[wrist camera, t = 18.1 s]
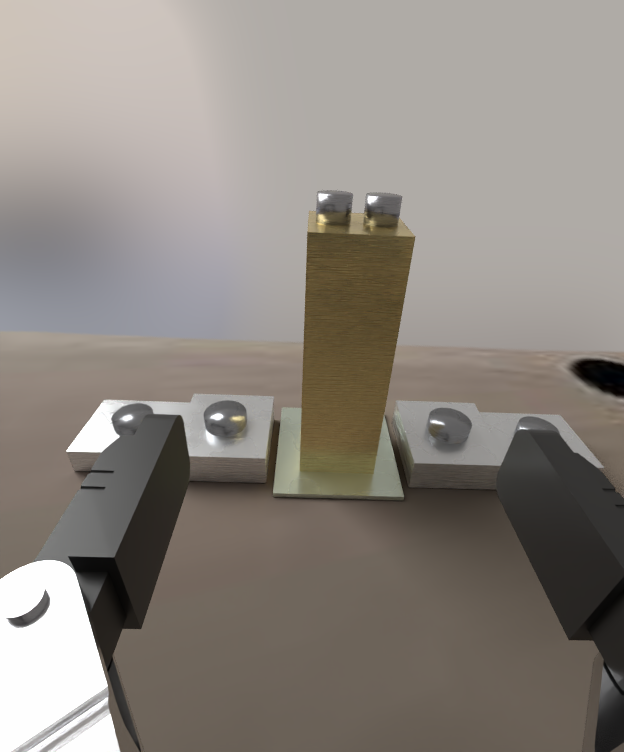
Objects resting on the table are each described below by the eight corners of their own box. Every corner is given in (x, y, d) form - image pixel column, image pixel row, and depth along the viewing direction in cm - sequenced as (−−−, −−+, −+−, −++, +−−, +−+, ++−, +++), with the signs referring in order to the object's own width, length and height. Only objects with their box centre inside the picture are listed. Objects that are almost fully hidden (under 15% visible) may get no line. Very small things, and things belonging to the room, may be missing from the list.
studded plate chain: (60, 490, 23) (44, 454, 21) (118, 405, 29) (109, 373, 28) (608, 506, 23) (630, 472, 22) (541, 419, 30) (555, 388, 28)
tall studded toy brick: (299, 471, 24) (308, 200, 16) (301, 423, 28) (309, 185, 20) (373, 473, 24) (420, 205, 16) (365, 425, 28) (400, 189, 20)
